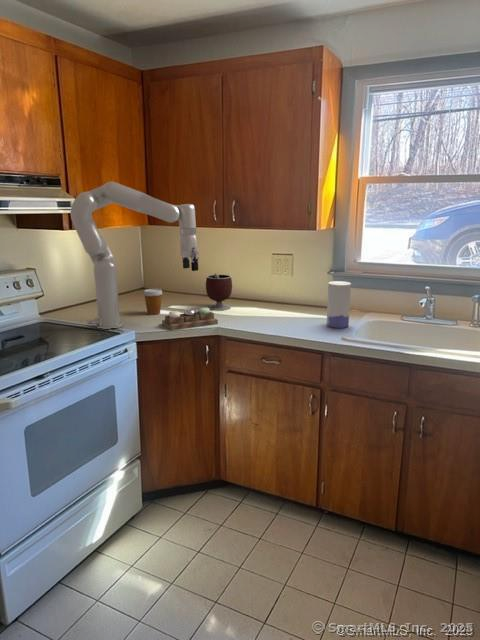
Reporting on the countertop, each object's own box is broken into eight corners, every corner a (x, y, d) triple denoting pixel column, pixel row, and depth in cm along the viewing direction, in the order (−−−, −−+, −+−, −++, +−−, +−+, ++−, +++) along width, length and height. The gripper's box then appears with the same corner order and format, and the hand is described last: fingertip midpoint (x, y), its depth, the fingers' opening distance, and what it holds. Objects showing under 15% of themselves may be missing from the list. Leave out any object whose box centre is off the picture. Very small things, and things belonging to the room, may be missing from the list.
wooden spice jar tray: (171, 330, 211) (171, 320, 210) (162, 324, 221) (161, 314, 220) (217, 323, 222) (217, 314, 221) (206, 318, 232) (206, 309, 231)
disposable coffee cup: (164, 315, 238) (163, 291, 235) (145, 316, 236) (144, 292, 233) (162, 310, 247) (161, 288, 244) (143, 311, 245) (142, 289, 242)
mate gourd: (209, 304, 261) (208, 268, 256) (234, 305, 259) (234, 269, 253) (202, 311, 246) (202, 273, 241) (229, 312, 244) (228, 273, 239)
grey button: (186, 317, 217) (186, 312, 217) (182, 315, 221) (182, 310, 221) (196, 316, 219) (196, 311, 219) (192, 313, 224) (192, 309, 223)
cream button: (171, 319, 214) (171, 314, 213) (167, 317, 218) (167, 312, 217) (181, 318, 216) (181, 313, 215) (177, 315, 220) (177, 310, 220)
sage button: (201, 315, 221) (201, 310, 220) (197, 313, 225) (197, 308, 224) (211, 314, 223) (211, 309, 222) (206, 312, 227) (206, 307, 227)
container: (343, 322, 225) (346, 280, 220) (351, 327, 215) (354, 284, 210) (323, 323, 223) (325, 281, 218) (330, 328, 214) (332, 285, 209)
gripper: (173, 231, 221) (176, 268, 226) (188, 233, 206) (190, 272, 211) (188, 230, 225) (190, 266, 229) (203, 232, 210) (206, 270, 215)
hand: (190, 269), depth 220 cm, fingers open, 9 cm apart
